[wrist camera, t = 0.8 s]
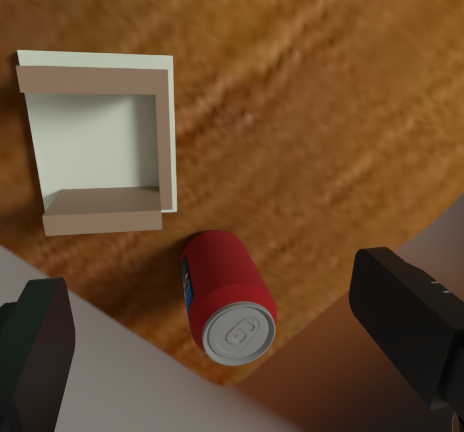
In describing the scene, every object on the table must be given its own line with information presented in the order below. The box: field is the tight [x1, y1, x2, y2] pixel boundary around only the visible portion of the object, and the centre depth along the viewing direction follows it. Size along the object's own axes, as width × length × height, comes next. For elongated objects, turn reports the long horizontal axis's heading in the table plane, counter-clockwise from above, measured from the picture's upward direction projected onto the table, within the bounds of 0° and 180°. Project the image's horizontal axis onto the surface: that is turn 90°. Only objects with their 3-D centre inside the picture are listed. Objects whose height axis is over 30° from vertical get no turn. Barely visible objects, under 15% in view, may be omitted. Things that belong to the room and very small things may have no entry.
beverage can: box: [180, 230, 277, 366], centre depth 32 cm, size 7×7×12 cm
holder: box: [16, 50, 177, 236], centre depth 27 cm, size 13×11×7 cm
